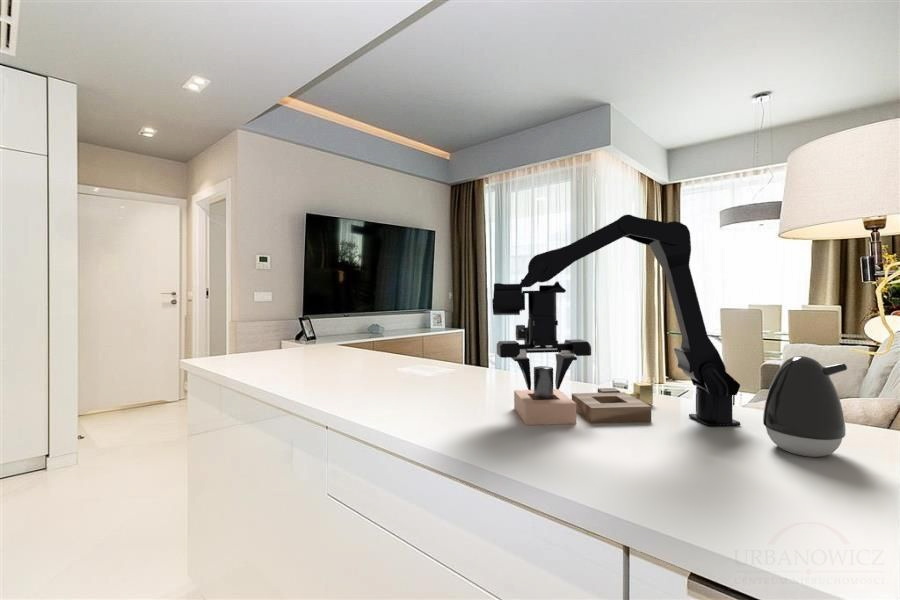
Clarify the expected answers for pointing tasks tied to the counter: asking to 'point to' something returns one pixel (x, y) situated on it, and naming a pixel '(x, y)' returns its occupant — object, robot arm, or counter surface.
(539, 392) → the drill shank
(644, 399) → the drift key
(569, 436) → the counter surface
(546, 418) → the block
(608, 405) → the socket block
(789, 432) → the pump dispenser
